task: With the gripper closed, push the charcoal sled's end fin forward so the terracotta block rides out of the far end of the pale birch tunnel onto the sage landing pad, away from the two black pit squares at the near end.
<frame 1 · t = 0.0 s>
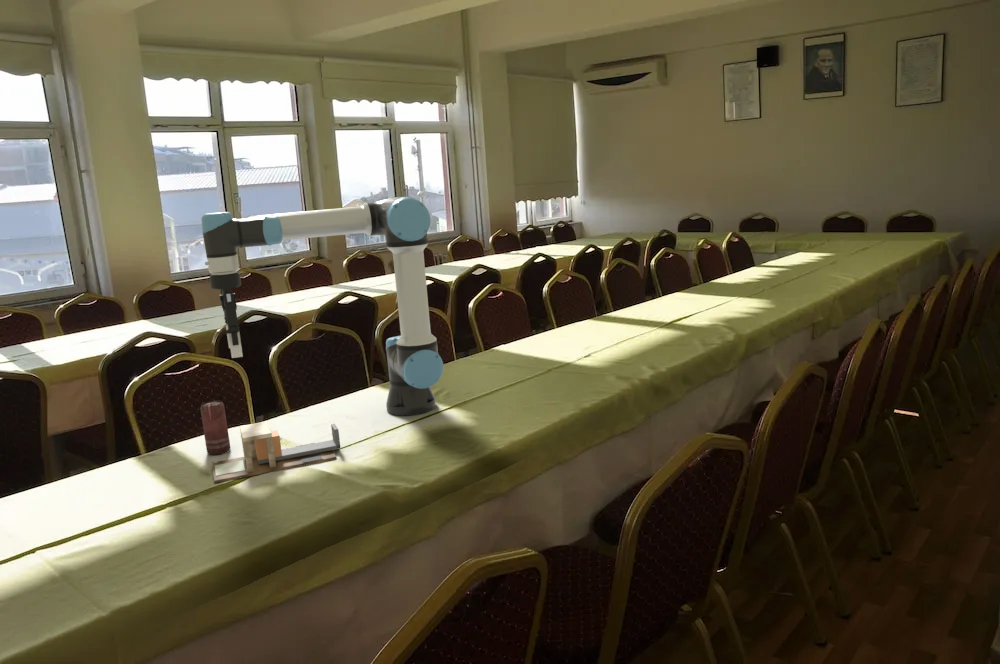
hand: (235, 352, 207), 28 cm above the table, fingers open, 13 cm apart
can: (219, 452, 215), on the table
tunnel board: (274, 461, 204), on the table
sled: (297, 441, 205), point 4 cm above the table, slide at 0.0 cm
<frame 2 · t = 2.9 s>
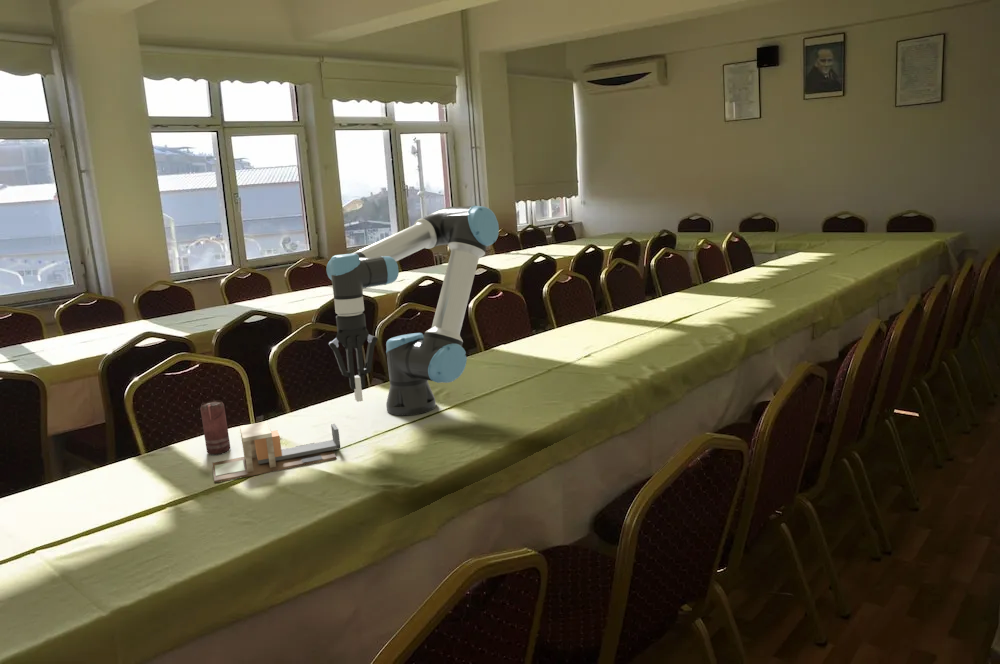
hand: (358, 399, 209), 13 cm above the table, fingers closed
nothing on the table moved.
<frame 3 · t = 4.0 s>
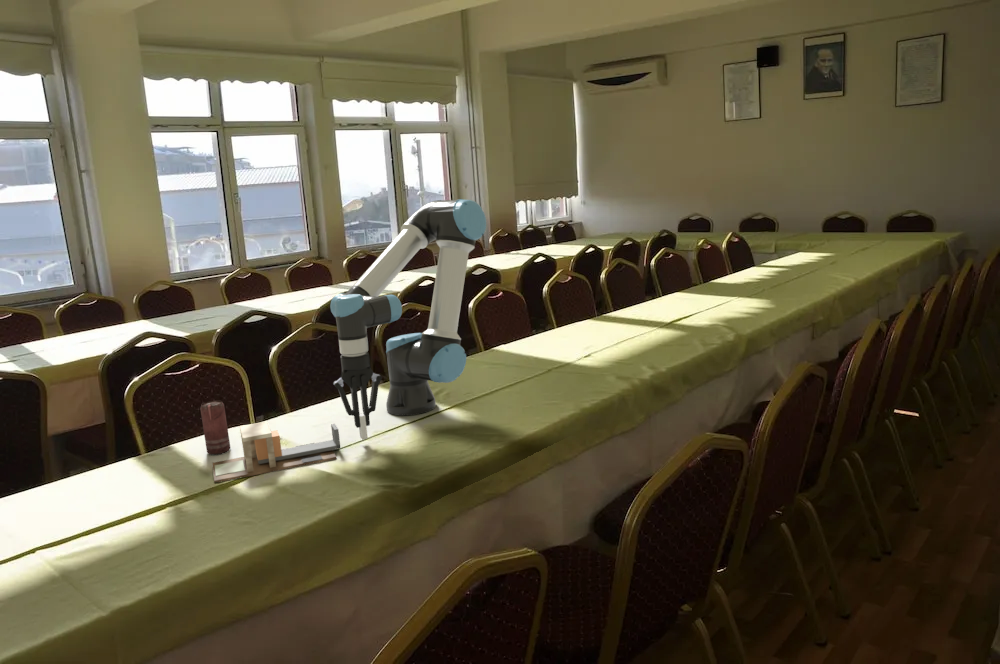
hand: (363, 437, 212), 2 cm above the table, fingers closed
nothing on the table moved.
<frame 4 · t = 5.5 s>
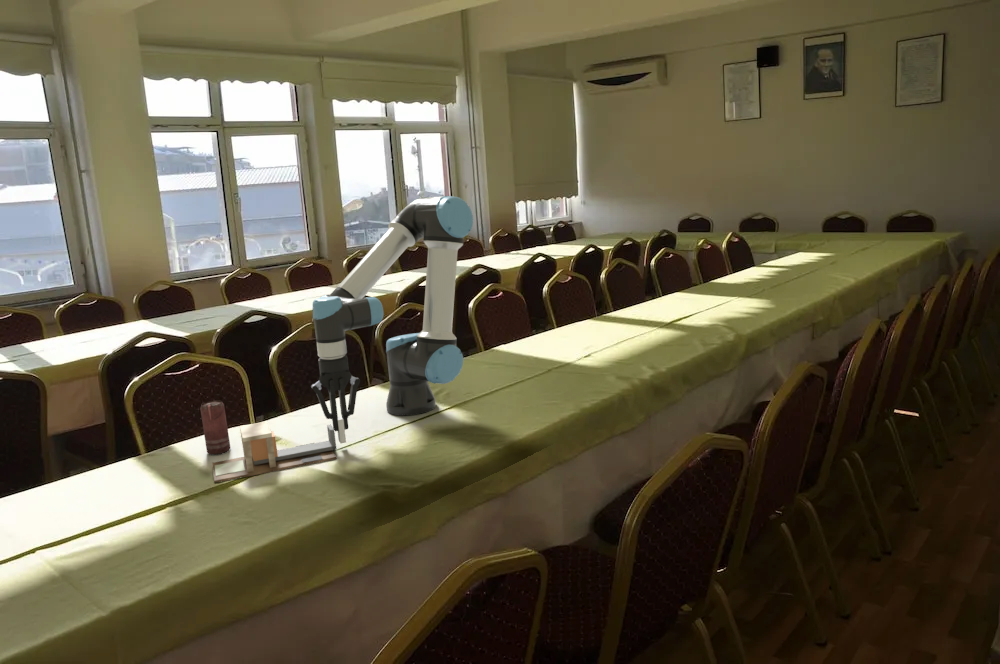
hand: (342, 441, 210), 2 cm above the table, fingers closed
sled: (293, 442, 205), point 4 cm above the table, slide at 1.1 cm, touching gripper
everything else where it was.
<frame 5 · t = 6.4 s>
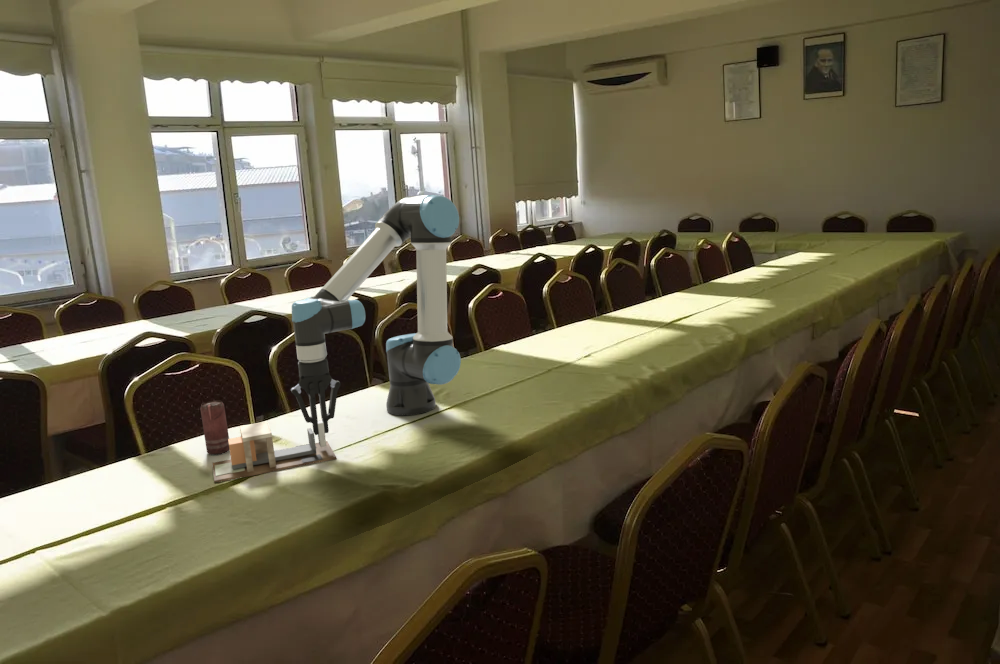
hand: (322, 445, 208), 2 cm above the table, fingers closed
sled: (272, 446, 203), point 4 cm above the table, slide at 6.4 cm, touching gripper
everything else where it was.
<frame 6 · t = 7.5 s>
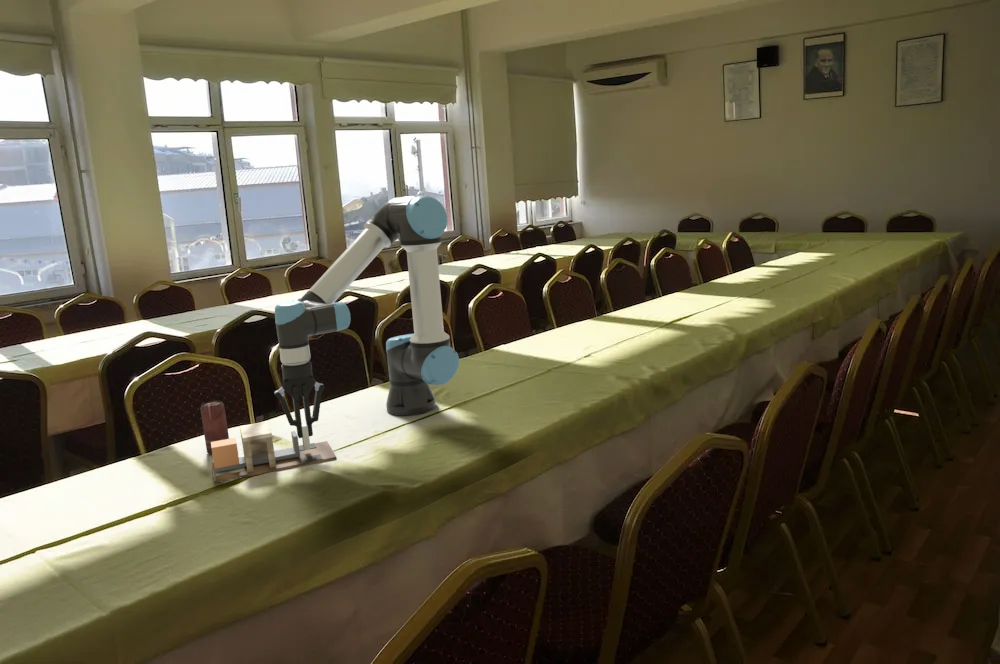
hand: (306, 448, 206), 2 cm above the table, fingers closed
sled: (255, 449, 201), point 4 cm above the table, slide at 10.5 cm, touching gripper
everything else where it was.
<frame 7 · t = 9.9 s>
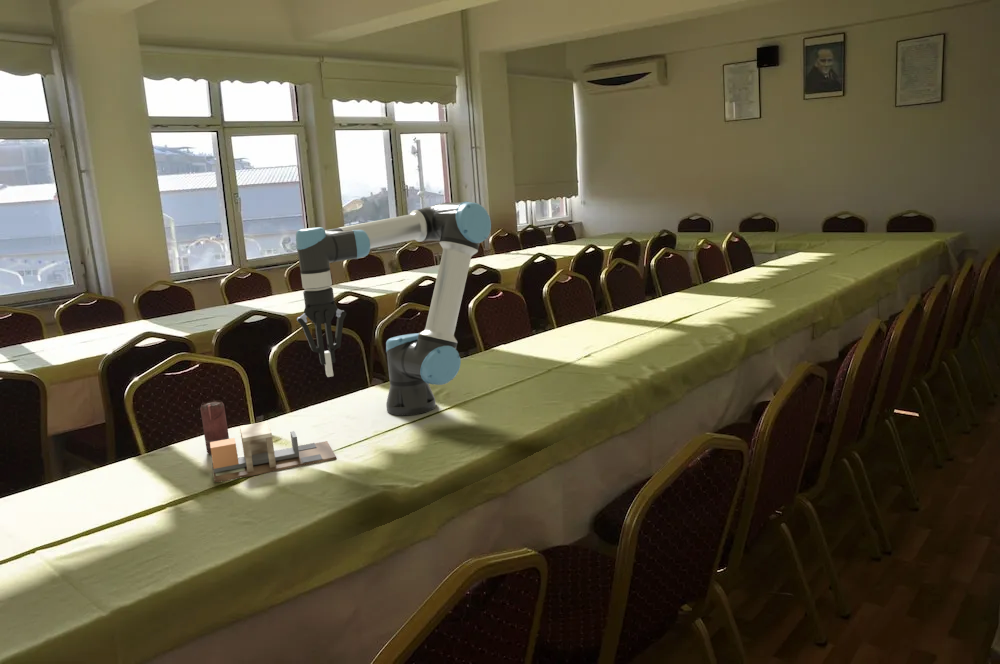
hand: (329, 375, 208), 20 cm above the table, fingers closed
sled: (255, 449, 201), point 4 cm above the table, slide at 10.8 cm
everything else where it was.
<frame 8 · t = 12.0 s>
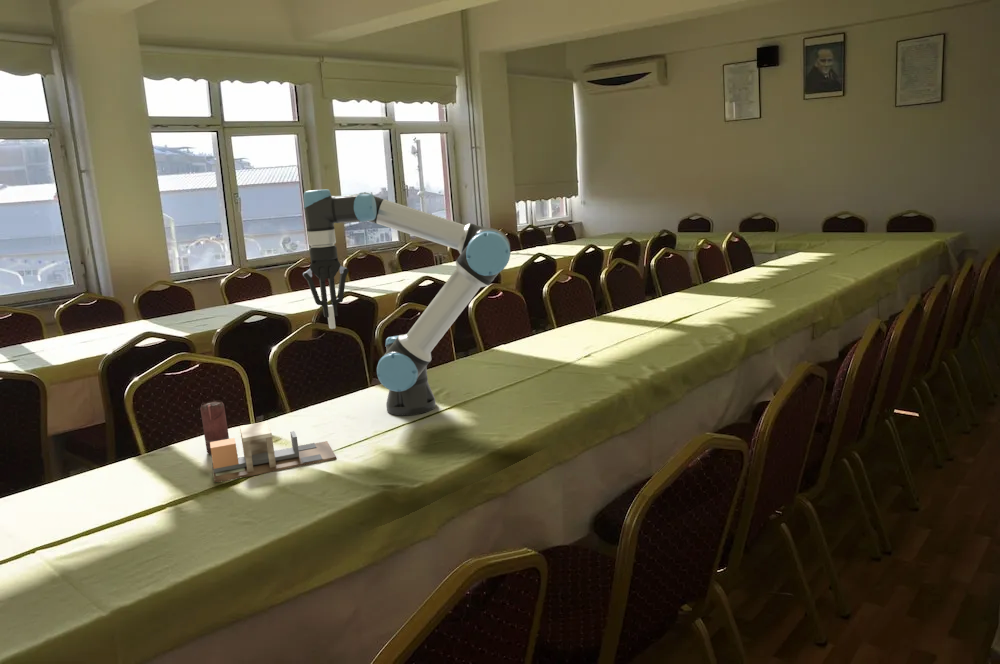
hand: (332, 327, 224), 29 cm above the table, fingers closed
nothing on the table moved.
at the end: sled slide at 10.8 cm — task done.
